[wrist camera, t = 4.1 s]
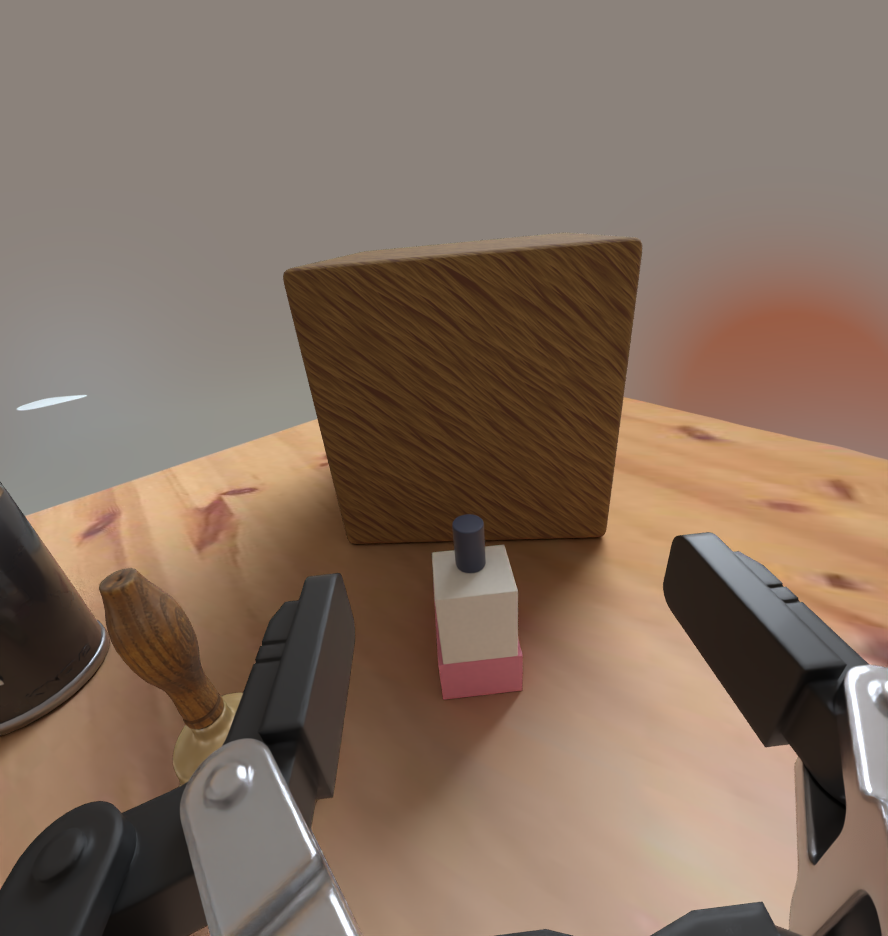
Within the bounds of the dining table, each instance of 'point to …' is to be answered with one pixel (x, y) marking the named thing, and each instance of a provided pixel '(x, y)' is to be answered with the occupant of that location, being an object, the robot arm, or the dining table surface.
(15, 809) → the dining table surface
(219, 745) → the hand bell
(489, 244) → the wood block
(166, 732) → the dining table surface
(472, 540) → the block stack
